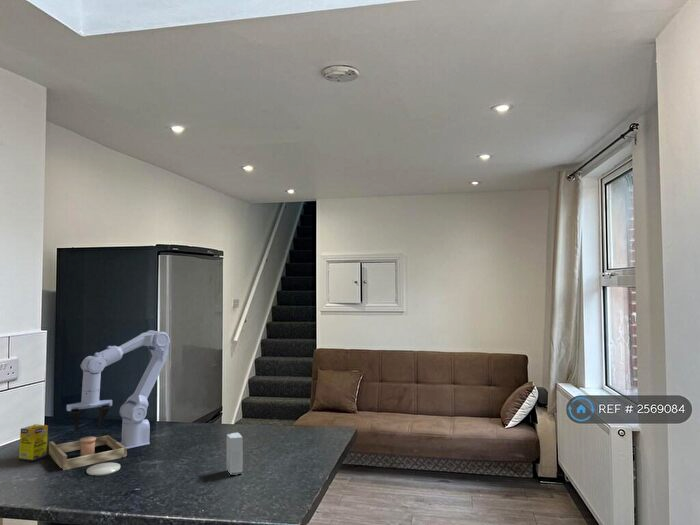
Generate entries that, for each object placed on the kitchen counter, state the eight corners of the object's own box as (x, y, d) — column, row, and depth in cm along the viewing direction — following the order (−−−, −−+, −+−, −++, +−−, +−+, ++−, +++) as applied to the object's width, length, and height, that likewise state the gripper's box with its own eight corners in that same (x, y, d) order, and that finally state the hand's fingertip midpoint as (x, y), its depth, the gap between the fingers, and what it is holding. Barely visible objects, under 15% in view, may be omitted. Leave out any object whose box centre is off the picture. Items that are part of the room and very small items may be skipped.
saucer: (114, 462, 168) (114, 460, 168) (124, 470, 160) (124, 468, 160) (82, 469, 161) (82, 467, 161) (91, 478, 154) (91, 476, 154)
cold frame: (108, 443, 188) (108, 431, 188) (126, 456, 173) (127, 443, 174) (48, 454, 174) (49, 441, 174) (63, 470, 160) (63, 456, 160)
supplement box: (32, 462, 166) (34, 429, 167) (18, 460, 168) (19, 428, 168) (47, 456, 172) (48, 425, 173) (32, 455, 173) (34, 423, 174)
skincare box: (243, 474, 158) (244, 437, 159) (229, 476, 156) (230, 438, 157) (238, 468, 164) (239, 431, 165) (225, 470, 162) (226, 433, 163)
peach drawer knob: (92, 452, 177) (93, 435, 178) (97, 456, 174) (98, 438, 174) (77, 455, 174) (78, 438, 174) (81, 459, 170) (82, 441, 171)
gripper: (71, 394, 167) (68, 434, 166) (115, 389, 177) (113, 427, 176) (66, 390, 172) (63, 430, 172) (109, 386, 182) (107, 423, 181)
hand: (88, 428), depth 174 cm, fingers open, 7 cm apart
